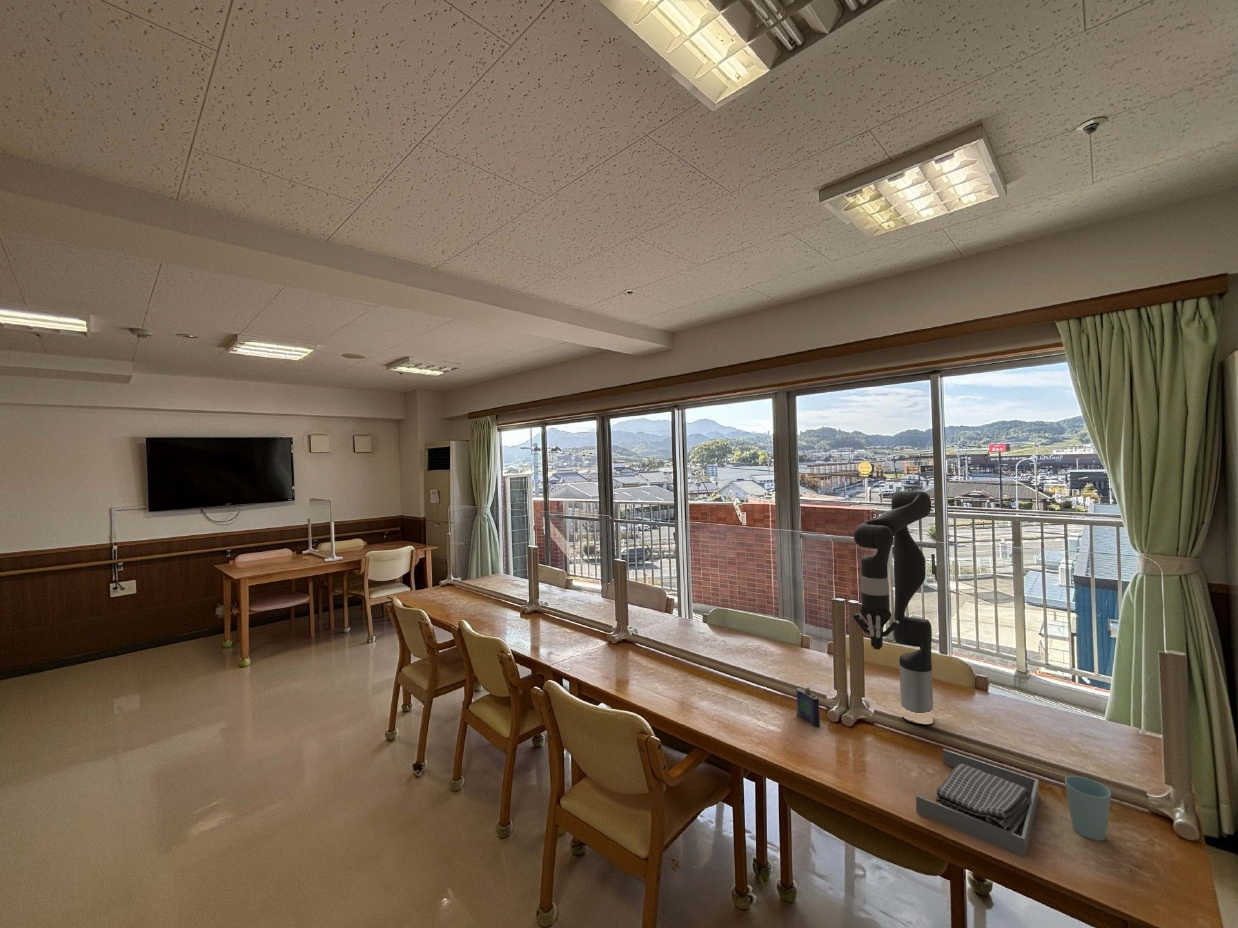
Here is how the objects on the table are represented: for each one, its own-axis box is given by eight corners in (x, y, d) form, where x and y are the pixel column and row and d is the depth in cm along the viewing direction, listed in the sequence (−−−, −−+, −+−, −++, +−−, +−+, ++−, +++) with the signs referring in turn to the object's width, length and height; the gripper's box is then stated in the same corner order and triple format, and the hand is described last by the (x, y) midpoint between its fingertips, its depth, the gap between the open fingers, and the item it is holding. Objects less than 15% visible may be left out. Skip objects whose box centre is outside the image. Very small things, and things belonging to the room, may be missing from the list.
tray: (943, 762, 140) (943, 748, 140) (1038, 795, 126) (1038, 779, 126) (916, 812, 121) (915, 795, 121) (1025, 857, 106) (1024, 839, 106)
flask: (795, 714, 169) (794, 683, 169) (801, 712, 170) (800, 681, 170) (815, 727, 161) (815, 694, 161) (822, 725, 162) (821, 692, 162)
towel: (1034, 816, 119) (1033, 783, 119) (1010, 854, 108) (1009, 817, 108) (961, 784, 131) (960, 754, 131) (932, 816, 120) (931, 783, 120)
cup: (1070, 814, 119) (1069, 771, 119) (1115, 833, 112) (1114, 787, 112) (1062, 829, 114) (1061, 784, 114) (1108, 849, 108) (1107, 802, 108)
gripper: (903, 592, 148) (905, 650, 148) (856, 585, 157) (858, 640, 157) (895, 597, 143) (897, 657, 143) (847, 590, 152) (849, 646, 152)
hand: (876, 648), depth 150 cm, fingers closed
